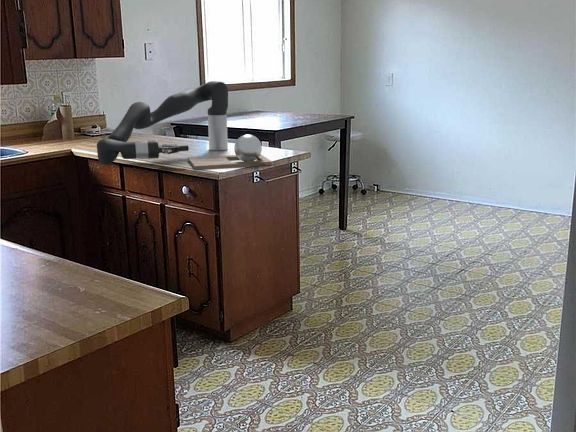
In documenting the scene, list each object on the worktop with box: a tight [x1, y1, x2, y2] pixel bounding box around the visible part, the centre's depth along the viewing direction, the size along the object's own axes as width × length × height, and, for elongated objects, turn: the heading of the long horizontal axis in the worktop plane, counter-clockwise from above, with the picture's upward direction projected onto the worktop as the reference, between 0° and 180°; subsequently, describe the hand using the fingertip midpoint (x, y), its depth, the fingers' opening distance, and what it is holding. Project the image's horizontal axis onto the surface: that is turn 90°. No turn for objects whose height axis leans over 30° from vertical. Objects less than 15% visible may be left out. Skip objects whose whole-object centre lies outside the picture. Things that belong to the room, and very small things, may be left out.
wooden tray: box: [187, 154, 273, 170], centre depth 274 cm, size 22×33×2 cm, turn 106°
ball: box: [233, 134, 263, 162], centre depth 275 cm, size 12×12×12 cm
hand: (188, 148), depth 267 cm, fingers closed
